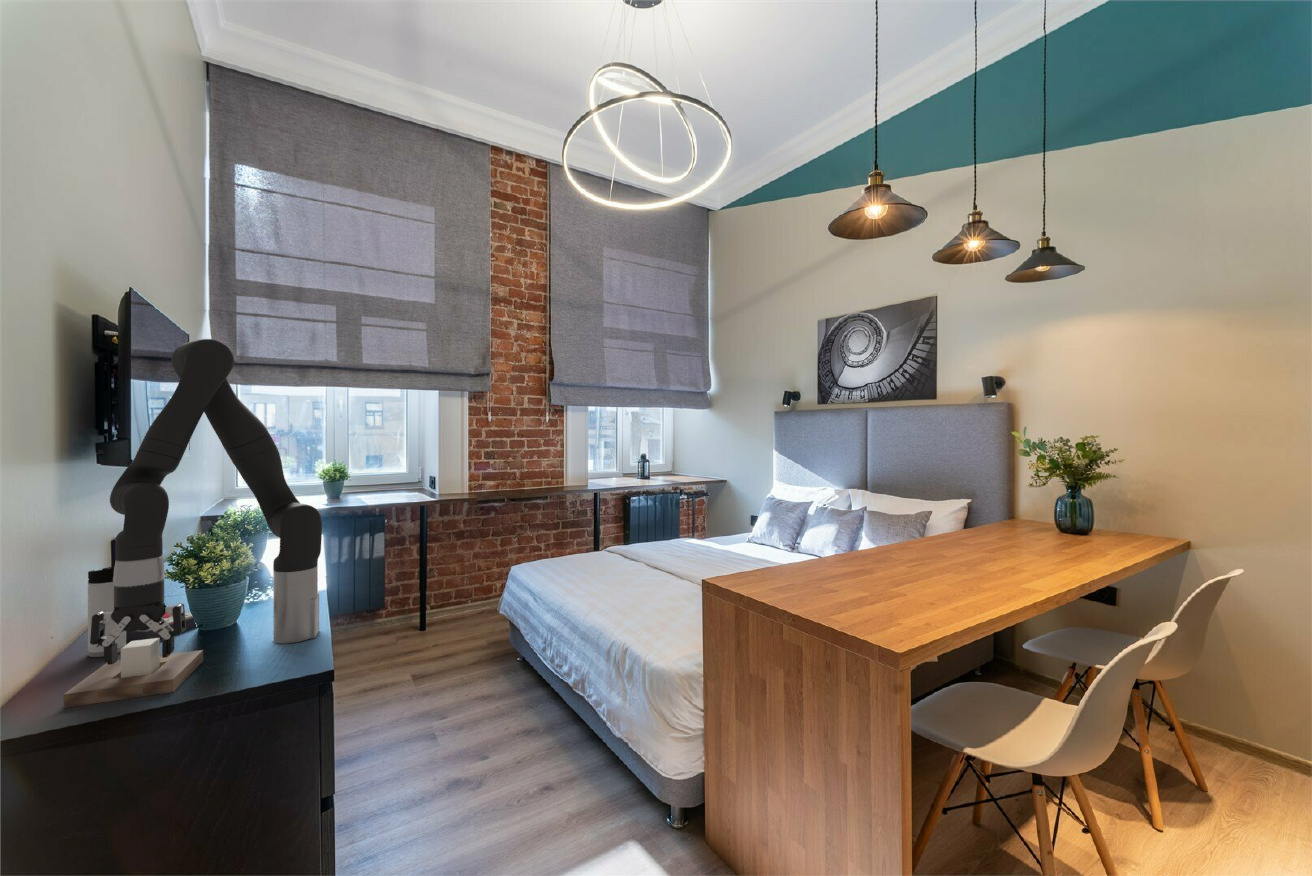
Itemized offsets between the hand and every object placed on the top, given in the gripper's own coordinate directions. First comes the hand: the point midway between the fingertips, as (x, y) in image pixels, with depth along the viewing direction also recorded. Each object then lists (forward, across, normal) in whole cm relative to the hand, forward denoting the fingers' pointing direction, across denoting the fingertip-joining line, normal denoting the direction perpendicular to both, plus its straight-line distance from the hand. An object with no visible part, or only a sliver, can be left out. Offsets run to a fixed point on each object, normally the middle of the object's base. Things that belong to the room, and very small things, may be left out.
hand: (139, 659), depth 112 cm
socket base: (+5, 0, 0) cm, 5 cm away
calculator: (+5, +9, -34) cm, 35 cm away
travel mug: (+5, +14, -23) cm, 27 cm away
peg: (+5, 0, 0) cm, 5 cm away
